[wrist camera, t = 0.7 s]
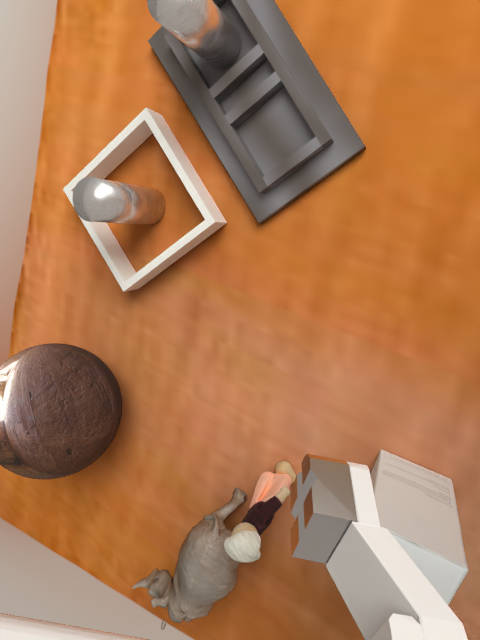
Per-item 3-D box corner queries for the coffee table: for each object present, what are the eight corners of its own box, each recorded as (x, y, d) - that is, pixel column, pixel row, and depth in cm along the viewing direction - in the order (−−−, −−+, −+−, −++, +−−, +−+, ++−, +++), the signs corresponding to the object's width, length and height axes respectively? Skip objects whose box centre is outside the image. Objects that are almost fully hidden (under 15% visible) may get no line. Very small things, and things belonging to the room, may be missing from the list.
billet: (153, 180, 49) (93, 167, 40) (171, 210, 49) (115, 205, 40) (128, 201, 51) (65, 194, 41) (146, 231, 50) (86, 230, 41)
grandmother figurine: (278, 446, 49) (235, 511, 38) (308, 466, 48) (273, 539, 37) (248, 495, 52) (199, 570, 40) (276, 515, 51) (235, 598, 39)
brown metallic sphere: (108, 311, 54) (4, 336, 41) (167, 417, 54) (82, 480, 40) (34, 362, 60) (-78, 399, 47) (87, 458, 60) (-10, 524, 46)
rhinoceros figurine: (293, 533, 47) (188, 658, 40) (259, 545, 59) (171, 644, 51) (244, 477, 49) (134, 586, 42) (220, 498, 61) (130, 587, 53)
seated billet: (227, 13, 42) (175, -49, 33) (249, 48, 42) (202, -4, 33) (196, 44, 44) (138, -7, 34) (217, 78, 43) (164, 36, 34)
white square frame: (161, 115, 47) (146, 107, 44) (226, 222, 47) (215, 221, 44) (81, 191, 53) (62, 189, 50) (138, 288, 52) (123, 291, 49)
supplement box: (355, 504, 47) (336, 592, 35) (381, 446, 45) (369, 519, 33) (425, 539, 45) (429, 644, 33) (455, 479, 43) (471, 570, 31)
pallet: (242, -50, 41) (232, -66, 39) (366, 148, 40) (363, 142, 38) (153, 44, 46) (139, 34, 44) (261, 223, 45) (253, 222, 43)
